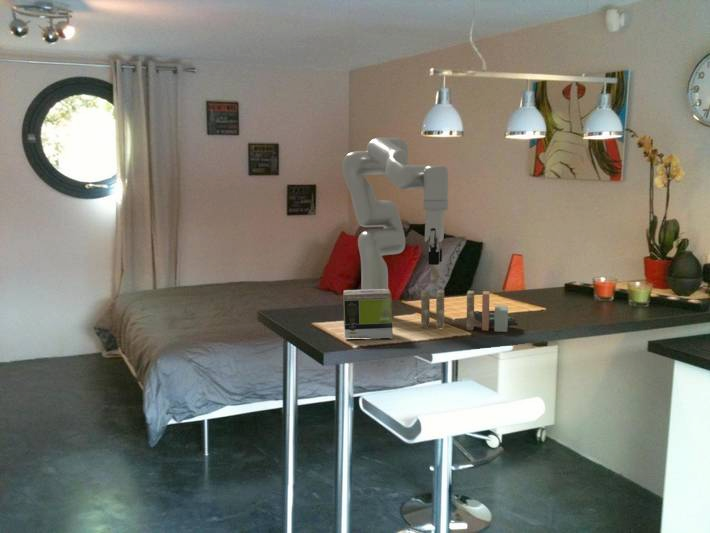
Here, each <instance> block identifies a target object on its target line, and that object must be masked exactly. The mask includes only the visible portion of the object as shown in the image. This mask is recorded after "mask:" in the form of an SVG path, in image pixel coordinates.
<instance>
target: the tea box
mask: <svg viewBox="0 0 710 533" xmlns="http://www.w3.org/2000/svg"><path fill="white" fill-rule="evenodd" d="M342 292H343V297H342V298H343V324H344V325H343V327H344V337H345V338H390V339H391V340H392V339H393V337H394V336H393V334H394V333H393V316H392V314H393V306H392V303H393V300H392V293H391V291H390V288H388V289H365V290H362V289H344V290H343V291H342Z"/></svg>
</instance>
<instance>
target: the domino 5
mask: <svg viewBox="0 0 710 533" xmlns="http://www.w3.org/2000/svg"><path fill="white" fill-rule="evenodd" d="M481 297H482V300H481V301H482V302H481V303H482V306H481V308H482V309H481V310H482V311H481V312H482V323H481V331H489V329H490V326H489V311H490V290H489V291H488V290H487V291H486V290H483V291H482V296H481Z"/></svg>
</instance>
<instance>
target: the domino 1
mask: <svg viewBox="0 0 710 533" xmlns="http://www.w3.org/2000/svg"><path fill="white" fill-rule="evenodd" d="M430 291H431V290H430V289H423V290H422V291H421V292H420V295H421V296H420V304H421V306H420V307H421V308H420V311H421V312H420V313H421V314H420V316H421V318H420V319H421V321H420V322H421V323H420V328H421V329H428V328H429V326H430V324H431V322H430V319H431V318H430V314H431V313H430V304H431V302H430V298H431V297H430V295H431V294H430Z"/></svg>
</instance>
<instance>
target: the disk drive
mask: <svg viewBox="0 0 710 533" xmlns="http://www.w3.org/2000/svg"><path fill="white" fill-rule="evenodd" d="M474 320H476V321H478V322H479V323H481V324H482V311H481V310H480V311H478V310H474ZM515 322H516V319H515V318H514V317H513V316H511V315H509V314H508V326H509V325H515V324H516V323H515ZM494 324H495V310H489V327H491V326H494Z"/></svg>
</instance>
